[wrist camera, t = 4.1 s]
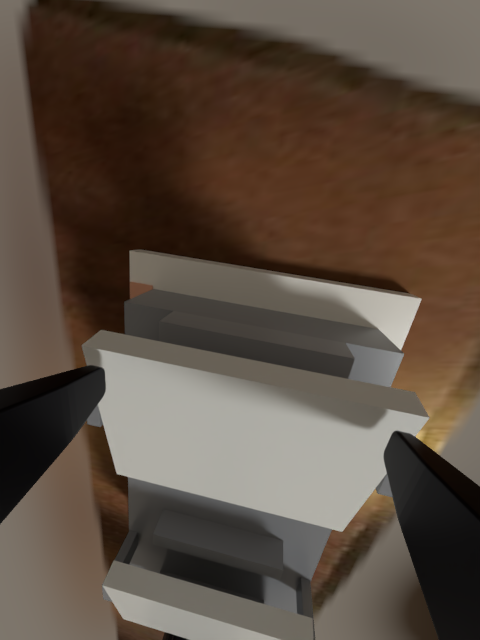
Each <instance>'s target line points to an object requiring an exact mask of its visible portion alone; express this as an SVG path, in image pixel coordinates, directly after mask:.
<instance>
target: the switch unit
mask: <svg viewBox="0 0 480 640" xmlns="http://www.w3.org/2000/svg"><path fill="white" fill-rule="evenodd" d="M129 252H130V299H129V300H127V301H125V302H124V317H125V335H130V336H135V337H140V338H145V339H150V340H155V341H160V342H165V343H170V344H175V345H180V346H185V347H190V348H195V349H200V350H205V351H210V352H215V353H220V354H225V355H230V356H235V357H240V358H245V359H250V360H255V361H260V362H265V363H270V364H275V365H280V366H286V367H291V368H296V369H301V370H306V371H311V372H316V373H321V374H326V375H331V376H336V377H341V378H346V379H351V380H356V381H361V382H366V383H371V384H376V385H381V386H386V387H391V385H392V382H393V380H394V377H395V375H396V372H397V370H398V368H399V365H400V363H401V360H402V358H403V356H404V353H403V352H402V351H401V349H402V346H403V344H404V341H405V339H406V336H407V334H408V331H409V329H410V327H411V324H412V322H413V319H414V317H415V314H416V312H417V309H418V307H419V304H420V302H421V298H419V297H417V296H415V295H412V294H410V293H404V292H398V291H392V290H385V289H379V288H373V287H367V286H361V285H355V284H349V283H343V282H337V281H331V280H324V279H318V278H312V277H306V276H300V275H294V274H288V273H282V272H276V271H269V270H263V269H257V268H251V267H245V266H239V265H233V264H227V263H221V262H215V261H208V260H202V259H196V258H190V257H184V256H178V255H172V254H166V253H160V252H153V251H147V250H141V249H139V250H130V251H129ZM87 424H89V425H93V426H97V427H101V426H102V425H103V422H102V418H101V415H100V411H99V407H98V405H97V406H96V408H95V409H94V410H93V412H92V413H91V415H90V416H89V418H88V419H87ZM376 490H377V493H378V494H381V495H385V496H390V497H392V493H391V488H390V484H389V480H388V476H387V474H386V475H385V476H384V478H383V479H382V480H381V482H380V483H379V484H378V486H377V487H376ZM128 502H129V532H128V534H127V536H126V538H125V540H124V542H123V544H122V546H121V548H120V550H119V552H118V554H117V556H116V558H115V561H118V562H122V563H125V564H128V565H129V564H130V565H132V566H135V567H139V568H142V569H146V570H149V571H152V572H156V573H159V574H163V575H166V576H170V577H173V578H176V579H180V580H183V581H187V582H190V583H194V584H197V585H200V586H204V587H207V588H211V589H214V590H217V591H221V592H224V593H228V594H231V595H235V596H238V597H241V598H245V599H248V600H252V601H255V602H259V603H262V604H265V605H269V606H272V607H276V608H279V609H283V610H286V611H289V612H293V613H296V614H300V615H303V616H307V617H310V618H312V619H313V608H312V597H311V585H310V581H311V579H312V576H313V574H314V571H315V569H316V567H317V564H318V562H319V559H320V557H321V554H322V552H323V550H324V547H325V545H326V542H327V540H328V537H329V535H330V533H331V530H332V529H329V528H325V527H321V526H318V525H314V524H310V523H306V522H302V521H298V520H294V519H290V518H286V517H283V516H279V515H275V514H271V513H267V512H263V511H259V510H255V509H251V508H247V507H244V506H240V505H236V504H232V503H228V502H224V501H220V500H216V499H212V498H208V497H205V496H201V495H197V494H193V493H189V492H185V491H181V490H177V489H173V488H169V487H166V486H162V485H158V484H154V483H150V482H146V481H142V480H138V479H134V478H130V477H128ZM103 583H104V582H103ZM102 585H103V584H102ZM102 590H103V599H105V600H108V601H111V602H112V600H111V598H110V597H109V595H108V594H107V592H106V591H105V589H104V587H103V586H102ZM313 640H315V631H314V620H313Z"/></svg>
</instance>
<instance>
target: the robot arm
mask: <svg viewBox="0 0 480 640" xmlns="http://www.w3.org/2000/svg"><path fill="white" fill-rule="evenodd" d="M105 391H106V382H105V370H104V368H102V367H99V366H94V365H88V366H85V367H81V368H77V369H74V370H70V371H66V372H63V373H59V374H55V375H51V376H48V377H44V378H40V379H37V380H33V381H29V382H26V383H22V384H18V385H14V386H11V387H7V388H3V389H0V523H2V521H3V520H4V519H5V518H6V517H7V516H8V514H9V513H10V512H11V511H12V510H13V508H14V507H15V506H16V505H17V504H18V503H19V502H20V500H21V499H22V498H23V497H24V496H25V495H26V493H27V492H28V491H29V490H30V489H31V488H32V486H33V485H34V484H35V483H36V482H37V481H38V479H39V478H40V477H41V476H42V475H43V474H44V472H45V471H46V470H47V469H48V468H49V466H50V465H51V464H52V463H53V462H54V461H55V459H56V458H57V457H58V456H59V455H60V454H61V453H62V451H63V450H64V449H65V448H66V447H67V445H68V444H69V443H70V442H71V441H72V439H73V438H74V437H75V435H76V434H77V433H78V432H79V430H80V429H81V427H82V426H83V425H84V423H85V422H86V420H87V419H88V418H89V416H90V415H91V413H92V412H93V410H94V409H95V408H96V406H97V405H98V403H99V402H100V401H101V399H102V398H103V396H104V394H105ZM383 457H384V463H385V468H386V472H387V476H388V480H389V484H390V488H391V493H392V497H393V501H394V505H395V509H396V513H397V517H398V520H399V523H400V526H401V529H402V532H403V535H404V538H405V541H406V544H407V547H408V550H409V553H410V556H411V559H412V562H413V565H414V568H415V571H416V574H417V577H418V579H419V583H420V585H421V588H422V591H423V594H424V597H425V600H426V603H427V606H428V609H429V612H430V615H431V618H432V621H433V624H434V627H435V630H436V633H437V635H438V639H439V640H480V486H478V485H477V484H476V483H474V482H473V481H472V480H471V479H469V478H468V477H467V476H465V475H464V474H463V473H461V472H460V471H459V470H458V469H456V468H455V467H454V466H452V465H451V464H450V463H449V462H447V461H446V460H445V459H443V458H442V457H441V456H439V455H438V454H437V453H436V452H434V451H433V450H432V449H430V448H429V447H428V446H426V445H425V444H424V443H423V442H421V441H420V440H419V439H417V438H416V437H415V436H413V435H412V434H410V433H407V432H402V431H394V432H393V433H392V434H391V437H390V439H389V441H388V443H387V446H386V448H385V450H384V455H383ZM163 640H189V639H186V638H182V637H179V636H176V635H173V634H170V633H166V632H165V633H164V636H163Z"/></svg>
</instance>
